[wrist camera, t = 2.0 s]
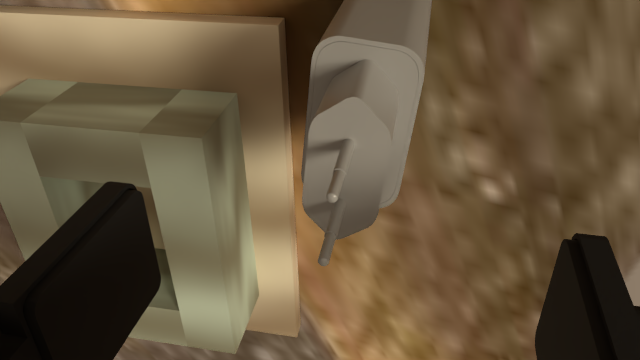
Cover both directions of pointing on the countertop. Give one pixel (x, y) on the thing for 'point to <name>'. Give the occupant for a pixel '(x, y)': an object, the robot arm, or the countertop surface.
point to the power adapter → (362, 112)
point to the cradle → (161, 154)
